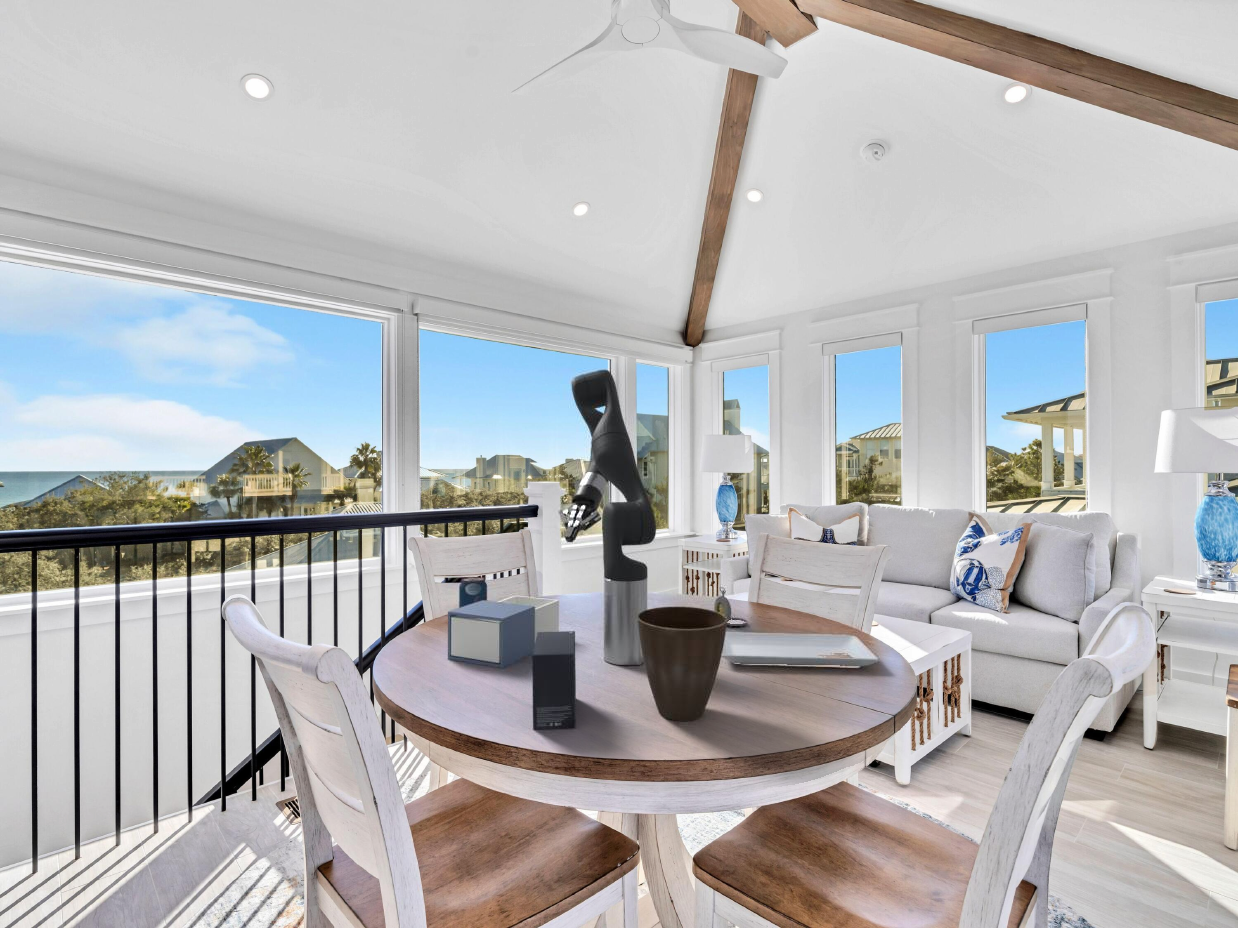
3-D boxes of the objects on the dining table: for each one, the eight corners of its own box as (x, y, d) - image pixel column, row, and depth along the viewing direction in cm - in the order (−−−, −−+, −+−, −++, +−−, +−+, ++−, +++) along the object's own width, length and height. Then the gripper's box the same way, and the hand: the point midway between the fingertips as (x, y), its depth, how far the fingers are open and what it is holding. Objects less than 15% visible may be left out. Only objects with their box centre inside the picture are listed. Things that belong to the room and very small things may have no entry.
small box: (536, 698, 109) (537, 630, 109) (575, 697, 110) (575, 630, 110) (531, 730, 96) (531, 653, 96) (575, 729, 97) (575, 652, 97)
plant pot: (744, 711, 104) (744, 615, 104) (692, 740, 93) (693, 633, 93) (672, 689, 114) (672, 602, 114) (618, 713, 103) (618, 617, 103)
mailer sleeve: (534, 651, 136) (535, 606, 136) (502, 667, 125) (503, 618, 125) (482, 643, 142) (482, 600, 142) (447, 658, 131) (447, 611, 131)
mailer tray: (558, 633, 148) (558, 600, 148) (499, 662, 126) (499, 623, 126) (515, 627, 153) (515, 595, 153) (451, 655, 131) (451, 617, 131)
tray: (880, 675, 123) (880, 657, 123) (720, 670, 126) (720, 653, 126) (855, 650, 140) (855, 634, 140) (714, 646, 142) (714, 631, 142)
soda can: (480, 629, 154) (481, 581, 154) (454, 628, 155) (454, 580, 155) (491, 622, 161) (491, 576, 161) (465, 621, 162) (465, 575, 162)
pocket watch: (751, 623, 161) (751, 585, 161) (739, 630, 154) (739, 590, 154) (721, 619, 166) (721, 581, 166) (708, 626, 159) (708, 587, 159)
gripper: (564, 482, 176) (541, 530, 164) (607, 483, 170) (586, 532, 159) (573, 500, 180) (552, 547, 169) (615, 501, 175) (595, 550, 164)
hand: (568, 540), depth 164 cm, fingers closed
